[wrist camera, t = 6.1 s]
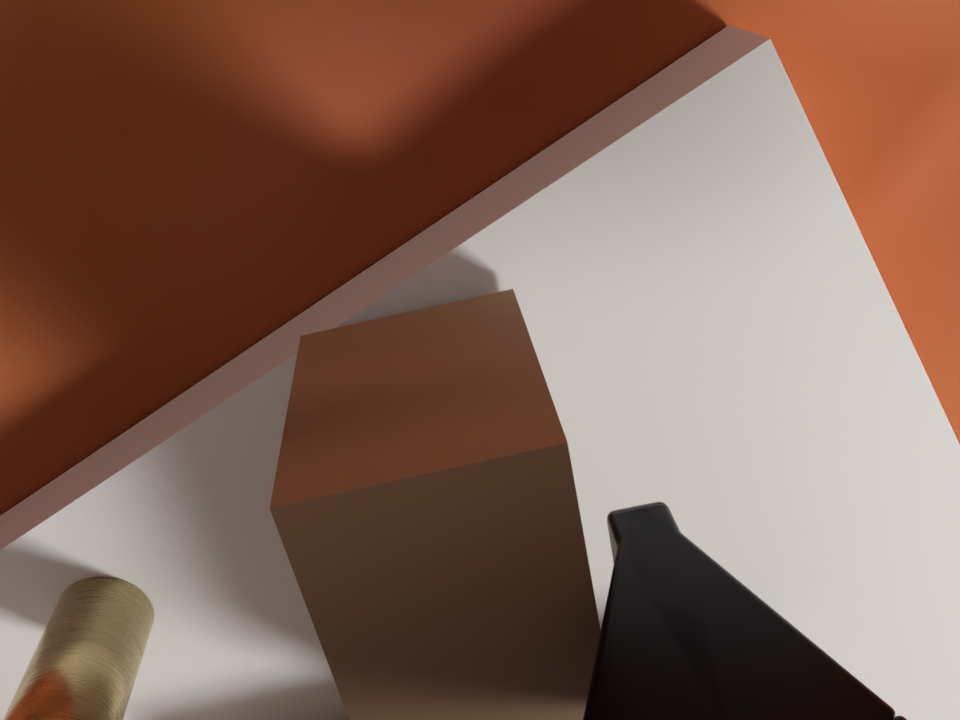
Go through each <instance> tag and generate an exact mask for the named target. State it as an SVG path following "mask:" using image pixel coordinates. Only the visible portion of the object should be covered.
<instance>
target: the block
mask: <svg viewBox="0 0 960 720" xmlns="http://www.w3.org/2000/svg"><path fill="white" fill-rule="evenodd" d="M270 511H271V514H272V516H273V519H274V522H275V524H276V527H277V530H278V532H279V535H280V538H281V540H282V543H283V546H284V548H285V551H286V554H287V556H288V559H289V561H290V564H291V567H292V569H293V572H294V575H295V577H296V580H297V583H298V585H299V588H300V591H301V593H302V596H303V599H304V601H305V604H306V607H307V609H308V612H309V614H310V617H311V620H312V622H313V625H314V628H315V630H316V633H317V636H318V638H319V641H320V644H321V646H322V649H323V652H324V654H325V657H326V660H327V662H328V665H329V667H330V670H331V673H332V675H333V678H334V681H335V683H336V686H337V689H338V691H339V694H340V697H341V699H342V702H343V705H344V707H345V710H346V713H347V715H348V718H349V720H583V717H584V712H585V707H586V702H587V697H588V692H589V687H590V682H591V677H592V672H593V667H594V662H595V657H596V652H597V647H598V642H599V637H600V632H601V629H600V624H599V618H598V612H597V607H596V601H595V595H594V590H593V584H592V578H591V573H590V567H589V561H588V556H587V550H586V544H585V539H584V533H583V527H582V522H581V516H580V510H579V505H578V499H577V493H576V488H575V482H574V476H573V471H572V465H571V459H570V454H569V448H568V442H567V440H566V437H565V434H564V431H563V428H562V426H561V423H560V420H559V417H558V414H557V411H556V409H555V406H554V403H553V400H552V397H551V395H550V392H549V389H548V386H547V383H546V380H545V378H544V375H543V372H542V369H541V366H540V363H539V361H538V358H537V355H536V352H535V349H534V347H533V344H532V341H531V338H530V335H529V332H528V330H527V327H526V324H525V321H524V318H523V316H522V313H521V310H520V307H519V304H518V301H517V299H516V296H515V293H514V290H513V289H510V290H505V291H501V292H496V293H492V294H487V295H483V296H478V297H474V298H469V299H465V300H460V301H456V302H451V303H446V304H442V305H437V306H433V307H428V308H424V309H419V310H415V311H410V312H406V313H401V314H397V315H392V316H388V317H383V318H379V319H374V320H370V321H365V322H360V323H356V324H351V325H347V326H342V327H338V328H333V329H329V330H324V331H320V332H315V333H311V334H306V335H302V336H300V342H299V347H298V353H297V359H296V364H295V370H294V375H293V381H292V386H291V392H290V397H289V403H288V409H287V414H286V420H285V425H284V431H283V436H282V442H281V447H280V453H279V458H278V464H277V470H276V475H275V481H274V486H273V492H272V497H271V503H270Z"/></svg>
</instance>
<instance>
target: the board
mask: <svg viewBox="0 0 960 720" xmlns="http://www.w3.org/2000/svg"><path fill="white" fill-rule="evenodd" d="M510 289H513V290H514V293H515V296H516V299H517V301H518V304H519V307H520V310H521V313H522V316H523V318H524V321H525V324H526V327H527V330H528V332H529V335H530V338H531V341H532V344H533V347H534V349H535V352H536V355H537V358H538V361H539V363H540V366H541V369H542V372H543V375H544V378H545V380H546V383H547V386H548V389H549V392H550V395H551V397H552V400H553V403H554V406H555V409H556V411H557V414H558V417H559V420H560V423H561V426H562V428H563V431H564V434H565V437H566V440H567V442H568V448H569V454H570V459H571V465H572V471H573V476H574V482H575V488H576V493H577V499H578V505H579V510H580V516H581V522H582V527H583V533H584V539H585V544H586V550H587V556H588V561H589V567H590V573H591V578H592V584H593V590H594V595H595V601H596V607H597V612H598V618H599V624H600V629H601V627H602V622H603V617H604V612H605V607H606V602H607V597H608V592H609V586H610V581H611V576H612V571H613V566H614V562H613V556H612V550H611V544H610V537H609V531H608V525H607V516H608V514H609V513H610V512H611V511H613V510H618V509H623V508H628V507H633V506H638V505H643V504H649V503H654V502H663V503H665V504H666V505H667V506H668V507H669V509H670V511H671V513H672V516H673V518H674V520H675V522H676V524H677V526H678V528H679V530H680V532H681V533H682V534H683V535H684V536H685V537H687V538H688V539H689V540H690V541H691V542H693V543H694V544H695V545H696V546H698V547H699V548H700V549H701V550H702V551H704V552H705V553H706V554H707V555H708V556H710V557H711V558H712V559H713V560H714V561H716V562H717V563H718V564H719V565H720V566H722V567H723V568H724V569H725V570H726V571H728V572H729V573H730V574H731V575H733V576H734V577H735V578H736V579H737V580H739V581H740V582H741V583H742V584H743V585H745V586H746V587H747V588H748V589H749V590H751V591H752V592H753V593H754V594H755V595H757V596H758V597H759V598H760V599H761V600H763V601H764V602H765V603H766V604H768V605H769V606H770V607H771V608H772V609H774V610H775V611H776V612H777V613H778V614H780V615H781V616H782V617H783V618H784V619H786V620H787V621H788V622H789V623H790V624H792V625H793V626H794V627H795V628H796V629H798V630H799V631H800V632H801V633H803V634H804V635H805V636H806V637H807V638H809V639H810V640H811V641H812V642H813V643H815V644H816V645H817V646H818V647H819V648H821V649H822V650H823V651H824V652H825V653H827V654H828V655H829V656H830V657H831V658H833V659H834V660H835V661H836V662H838V663H839V664H840V665H841V666H842V667H844V668H845V669H846V670H847V671H848V672H850V673H851V674H852V675H853V676H854V677H856V678H857V679H858V680H859V681H860V682H862V683H863V684H864V685H865V686H866V687H868V688H869V689H870V690H871V691H873V692H874V693H875V694H876V695H877V696H879V697H880V698H881V699H882V700H883V701H885V702H886V703H887V704H888V705H889V706H891V707H892V708H893V709H894V711H895V717H896V716H903V717H904V718H906V719H907V720H960V444H959V442H958V440H957V438H956V436H955V434H954V432H953V429H952V427H951V425H950V423H949V421H948V419H947V417H946V414H945V412H944V410H943V408H942V406H941V404H940V402H939V399H938V397H937V395H936V393H935V391H934V389H933V387H932V384H931V382H930V380H929V378H928V376H927V374H926V372H925V369H924V367H923V365H922V363H921V361H920V359H919V357H918V354H917V352H916V350H915V348H914V346H913V344H912V342H911V339H910V337H909V335H908V333H907V331H906V329H905V327H904V324H903V322H902V320H901V318H900V316H899V314H898V312H897V309H896V307H895V305H894V303H893V301H892V299H891V297H890V294H889V292H888V290H887V288H886V286H885V284H884V282H883V279H882V277H881V275H880V273H879V271H878V269H877V267H876V264H875V262H874V260H873V258H872V256H871V254H870V252H869V249H868V247H867V245H866V243H865V241H864V239H863V237H862V234H861V232H860V230H859V228H858V226H857V224H856V222H855V219H854V217H853V215H852V213H851V211H850V209H849V207H848V204H847V202H846V200H845V198H844V196H843V194H842V192H841V189H840V187H839V185H838V183H837V181H836V179H835V177H834V174H833V172H832V170H831V168H830V166H829V164H828V162H827V159H826V157H825V155H824V153H823V151H822V149H821V147H820V144H819V142H818V140H817V138H816V136H815V134H814V132H813V129H812V127H811V125H810V123H809V121H808V119H807V117H806V114H805V112H804V110H803V108H802V106H801V104H800V102H799V99H798V97H797V95H796V93H795V91H794V89H793V87H792V84H791V82H790V80H789V78H788V76H787V74H786V72H785V69H784V67H783V65H782V63H781V61H780V59H779V57H778V54H777V52H776V50H775V48H774V46H773V44H772V42H771V39H770V38H767V37H764V36H761V35H758V34H755V33H752V32H749V31H746V30H743V29H740V28H737V27H734V26H731V25H728V26H727V27H725V28H724V29H722V30H721V31H720V32H718V33H717V34H715V35H714V36H712V37H711V38H709V39H708V40H706V41H705V42H703V43H702V44H700V45H699V46H697V47H696V48H694V49H693V50H691V51H690V52H688V53H687V54H685V55H684V56H682V57H681V58H679V59H678V60H676V61H675V62H673V63H672V64H670V65H669V66H668V67H666V68H665V69H663V70H662V71H660V72H659V73H657V74H656V75H654V76H653V77H651V78H650V79H648V80H647V81H645V82H644V83H642V84H641V85H639V86H638V87H636V88H635V89H633V90H632V91H630V92H629V93H627V94H626V95H624V96H623V97H621V98H620V99H619V100H617V101H616V102H614V103H613V104H611V105H610V106H608V107H607V108H605V109H604V110H602V111H601V112H599V113H598V114H596V115H595V116H593V117H592V118H590V119H589V120H587V121H586V122H584V123H583V124H581V125H580V126H578V127H577V128H575V129H574V130H572V131H571V132H569V133H568V134H567V135H565V136H564V137H562V138H561V139H559V140H558V141H556V142H555V143H553V144H552V145H550V146H549V147H547V148H546V149H544V150H543V151H541V152H540V153H538V154H537V155H535V156H534V157H532V158H531V159H529V160H528V161H526V162H525V163H523V164H522V165H520V166H519V167H518V168H516V169H515V170H513V171H512V172H510V173H509V174H507V175H506V176H504V177H503V178H501V179H500V180H498V181H497V182H495V183H494V184H492V185H491V186H489V187H488V188H486V189H485V190H483V191H482V192H480V193H479V194H477V195H476V196H474V197H473V198H471V199H470V200H468V201H467V202H466V203H464V204H463V205H461V206H460V207H458V208H457V209H455V210H454V211H452V212H451V213H449V214H448V215H446V216H445V217H443V218H442V219H440V220H439V221H437V222H436V223H434V224H433V225H431V226H430V227H428V228H427V229H425V230H424V231H422V232H421V233H419V234H418V235H416V236H415V237H414V238H412V239H411V240H409V241H408V242H406V243H405V244H403V245H402V246H400V247H399V248H397V249H396V250H394V251H393V252H391V253H390V254H388V255H387V256H385V257H384V258H382V259H381V260H379V261H378V262H376V263H375V264H373V265H372V266H370V267H369V268H367V269H366V270H365V271H363V272H362V273H360V274H359V275H357V276H356V277H354V278H353V279H351V280H350V281H348V282H347V283H345V284H344V285H342V286H341V287H339V288H338V289H336V290H335V291H333V292H332V293H330V294H329V295H327V296H326V297H324V298H323V299H321V300H320V301H318V302H317V303H315V304H314V305H313V306H311V307H310V308H308V309H307V310H305V311H304V312H302V313H301V314H299V315H298V316H296V317H295V318H293V319H292V320H290V321H289V322H287V323H286V324H284V325H283V326H281V327H280V328H278V329H277V330H275V331H274V332H272V333H271V334H269V335H268V336H266V337H265V338H263V339H262V340H261V341H259V342H258V343H256V344H255V345H253V346H252V347H250V348H249V349H247V350H246V351H244V352H243V353H241V354H240V355H238V356H237V357H235V358H234V359H232V360H231V361H229V362H228V363H226V364H225V365H223V366H222V367H220V368H219V369H217V370H216V371H214V372H213V373H212V374H210V375H209V376H207V377H206V378H204V379H203V380H201V381H200V382H198V383H197V384H195V385H194V386H192V387H191V388H189V389H188V390H186V391H185V392H183V393H182V394H180V395H179V396H177V397H176V398H174V399H173V400H171V401H170V402H168V403H167V404H165V405H164V406H162V407H161V408H160V409H158V410H157V411H155V412H154V413H152V414H151V415H149V416H148V417H146V418H145V419H143V420H142V421H140V422H139V423H137V424H136V425H134V426H133V427H131V428H130V429H128V430H127V431H125V432H124V433H122V434H121V435H119V436H118V437H116V438H115V439H113V440H112V441H110V442H109V443H108V444H106V445H105V446H103V447H102V448H100V449H99V450H97V451H96V452H94V453H93V454H91V455H90V456H88V457H87V458H85V459H84V460H82V461H81V462H79V463H78V464H76V465H75V466H73V467H72V468H70V469H69V470H67V471H66V472H64V473H63V474H61V475H60V476H59V477H57V478H56V479H54V480H53V481H51V482H50V483H48V484H47V485H45V486H44V487H42V488H41V489H39V490H38V491H36V492H35V493H33V494H32V495H30V496H29V497H27V498H26V499H24V500H23V501H21V502H20V503H18V504H17V505H15V506H14V507H12V508H11V509H9V510H8V511H7V512H5V513H4V514H2V515H1V516H0V720H3V719H4V717H5V715H6V713H7V710H8V708H9V706H10V704H11V702H12V700H13V697H14V695H15V693H16V691H17V689H18V687H19V684H20V682H21V680H22V678H23V676H24V674H25V671H26V669H27V667H28V665H29V663H30V661H31V658H32V656H33V654H34V652H35V650H36V648H37V645H38V643H39V641H40V639H41V637H42V635H43V632H44V630H45V628H46V626H47V624H48V622H49V619H50V617H51V615H52V613H53V611H54V609H55V606H56V604H57V602H58V600H59V598H60V596H61V594H62V593H63V591H64V590H65V589H66V588H67V587H69V586H70V585H71V584H73V583H75V582H77V581H79V580H82V579H85V578H89V577H96V576H107V577H114V578H118V579H122V580H125V581H127V582H129V583H132V584H133V585H135V586H137V587H138V588H139V589H141V590H142V591H143V592H144V593H145V594H146V595H147V596H148V598H149V599H150V601H151V603H152V605H153V608H154V622H153V625H152V628H151V632H150V635H149V638H148V641H147V644H146V648H145V651H144V654H143V657H142V660H141V664H140V667H139V670H138V673H137V676H136V679H135V683H134V686H133V689H132V692H131V695H130V699H129V702H128V705H127V708H126V711H125V715H124V718H123V720H349V718H348V715H347V713H346V710H345V707H344V705H343V702H342V699H341V697H340V694H339V691H338V689H337V686H336V683H335V681H334V678H333V675H332V673H331V670H330V667H329V665H328V662H327V660H326V657H325V654H324V652H323V649H322V646H321V644H320V641H319V638H318V636H317V633H316V630H315V628H314V625H313V622H312V620H311V617H310V614H309V612H308V609H307V607H306V604H305V601H304V599H303V596H302V593H301V591H300V588H299V585H298V583H297V580H296V577H295V575H294V572H293V569H292V567H291V564H290V561H289V559H288V556H287V554H286V551H285V548H284V546H283V543H282V540H281V538H280V535H279V532H278V530H277V527H276V524H275V522H274V519H273V516H272V514H271V511H270V503H271V497H272V492H273V486H274V481H275V475H276V470H277V464H278V458H279V453H280V447H281V442H282V436H283V431H284V425H285V420H286V414H287V409H288V403H289V397H290V392H291V386H292V381H293V375H294V370H295V364H296V359H297V353H298V347H299V342H300V336H302V335H306V334H311V333H315V332H320V331H324V330H329V329H333V328H338V327H342V326H347V325H351V324H356V323H360V322H365V321H370V320H374V319H379V318H383V317H388V316H392V315H397V314H401V313H406V312H410V311H415V310H419V309H424V308H428V307H433V306H437V305H442V304H446V303H451V302H456V301H460V300H465V299H469V298H474V297H478V296H483V295H487V294H492V293H496V292H501V291H505V290H510Z"/></svg>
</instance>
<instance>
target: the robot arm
mask: <svg viewBox="0 0 960 720" xmlns="http://www.w3.org/2000/svg"><path fill="white" fill-rule="evenodd" d="M607 525H608V531H609V537H610V544H611V550H612V556H613V562H614V566H613V571H612V576H611V581H610V586H609V592H608V597H607V602H606V607H605V612H604V617H603V622H602V627H601V632H600V637H599V642H598V647H597V652H596V657H595V662H594V667H593V672H592V677H591V682H590V687H589V692H588V697H587V702H586V707H585V712H584V717H583V720H907V719H906V718H904V717H903V716H896V717H895V711H894V709H893V708H892V707H891V706H889V705H888V704H887V703H886V702H885V701H883V700H882V699H881V698H880V697H879V696H877V695H876V694H875V693H874V692H873V691H871V690H870V689H869V688H868V687H866V686H865V685H864V684H863V683H862V682H860V681H859V680H858V679H857V678H856V677H854V676H853V675H852V674H851V673H850V672H848V671H847V670H846V669H845V668H844V667H842V666H841V665H840V664H839V663H838V662H836V661H835V660H834V659H833V658H831V657H830V656H829V655H828V654H827V653H825V652H824V651H823V650H822V649H821V648H819V647H818V646H817V645H816V644H815V643H813V642H812V641H811V640H810V639H809V638H807V637H806V636H805V635H804V634H803V633H801V632H800V631H799V630H798V629H796V628H795V627H794V626H793V625H792V624H790V623H789V622H788V621H787V620H786V619H784V618H783V617H782V616H781V615H780V614H778V613H777V612H776V611H775V610H774V609H772V608H771V607H770V606H769V605H768V604H766V603H765V602H764V601H763V600H761V599H760V598H759V597H758V596H757V595H755V594H754V593H753V592H752V591H751V590H749V589H748V588H747V587H746V586H745V585H743V584H742V583H741V582H740V581H739V580H737V579H736V578H735V577H734V576H733V575H731V574H730V573H729V572H728V571H726V570H725V569H724V568H723V567H722V566H720V565H719V564H718V563H717V562H716V561H714V560H713V559H712V558H711V557H710V556H708V555H707V554H706V553H705V552H704V551H702V550H701V549H700V548H699V547H698V546H696V545H695V544H694V543H693V542H691V541H690V540H689V539H688V538H687V537H685V536H684V535H683V534H682V533H681V532H680V530H679V528H678V526H677V524H676V522H675V520H674V518H673V516H672V513H671V511H670V509H669V507H668V506H667V505H666V504H665V503H663V502H654V503H649V504H643V505H638V506H633V507H628V508H623V509H618V510H613V511H611V512H610V513H609V514H608V516H607Z"/></svg>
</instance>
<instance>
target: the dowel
mask: <svg viewBox="0 0 960 720" xmlns="http://www.w3.org/2000/svg"><path fill="white" fill-rule="evenodd" d="M153 622H154V608H153V605H152V603H151V601H150V599H149V598H148V596H147V595H146V594H145V593H144V592H143V591H142V590H141V589H139V588H138V587H137V586H135V585H133V584H132V583H129V582H127V581H125V580H122V579H118V578H114V577H107V576H96V577H89V578H85V579H82V580H79V581H77V582H75V583H73V584H71V585H70V586H69V587H67V588H66V589H65V590H64V591H63V593H62V594H61V596H60V598H59V600H58V602H57V604H56V606H55V609H54V611H53V613H52V615H51V617H50V619H49V622H48V624H47V626H46V628H45V630H44V632H43V635H42V637H41V639H40V641H39V643H38V645H37V648H36V650H35V652H34V654H33V656H32V658H31V661H30V663H29V665H28V667H27V669H26V671H25V674H24V676H23V678H22V680H21V682H20V684H19V687H18V689H17V691H16V693H15V695H14V697H13V700H12V702H11V704H10V706H9V708H8V710H7V713H6V715H5V717H4V719H3V720H123V718H124V715H125V711H126V708H127V705H128V702H129V699H130V695H131V692H132V689H133V686H134V683H135V679H136V676H137V673H138V670H139V667H140V664H141V660H142V657H143V654H144V651H145V648H146V644H147V641H148V638H149V635H150V632H151V628H152V625H153Z"/></svg>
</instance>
